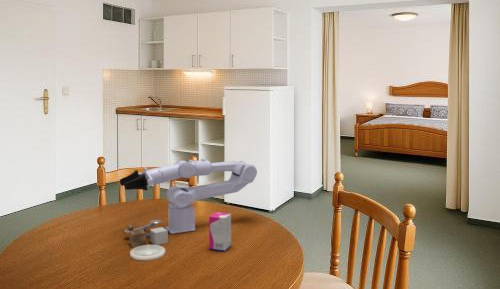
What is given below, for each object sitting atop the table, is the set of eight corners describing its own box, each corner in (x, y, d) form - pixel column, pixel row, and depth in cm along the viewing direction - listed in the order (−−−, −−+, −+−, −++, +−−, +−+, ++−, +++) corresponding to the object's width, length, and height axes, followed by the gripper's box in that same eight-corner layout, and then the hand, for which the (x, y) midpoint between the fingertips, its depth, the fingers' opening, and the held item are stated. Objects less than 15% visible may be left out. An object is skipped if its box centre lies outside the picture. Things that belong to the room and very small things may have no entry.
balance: (160, 232, 166) (159, 219, 165) (162, 235, 162) (162, 222, 162) (123, 237, 160) (123, 223, 160) (126, 240, 157) (125, 227, 156)
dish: (160, 245, 152) (160, 242, 152) (169, 257, 143) (169, 253, 142) (126, 250, 148) (126, 247, 147) (134, 262, 138) (133, 259, 138)
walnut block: (143, 241, 156) (142, 229, 156) (146, 245, 152) (145, 232, 152) (129, 243, 155) (129, 230, 154) (132, 247, 151) (132, 234, 150)
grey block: (162, 239, 159) (161, 227, 158) (167, 243, 155) (167, 230, 155) (150, 241, 156) (149, 229, 156) (155, 245, 153) (155, 232, 152)
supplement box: (231, 246, 152) (231, 213, 151) (225, 252, 147) (224, 218, 145) (215, 244, 154) (215, 211, 153) (208, 250, 149) (208, 216, 147)
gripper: (152, 161, 169) (116, 170, 163) (163, 167, 156) (124, 177, 150) (156, 179, 170) (120, 189, 164) (167, 187, 157) (128, 197, 151)
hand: (122, 184), depth 157 cm, fingers open, 7 cm apart
